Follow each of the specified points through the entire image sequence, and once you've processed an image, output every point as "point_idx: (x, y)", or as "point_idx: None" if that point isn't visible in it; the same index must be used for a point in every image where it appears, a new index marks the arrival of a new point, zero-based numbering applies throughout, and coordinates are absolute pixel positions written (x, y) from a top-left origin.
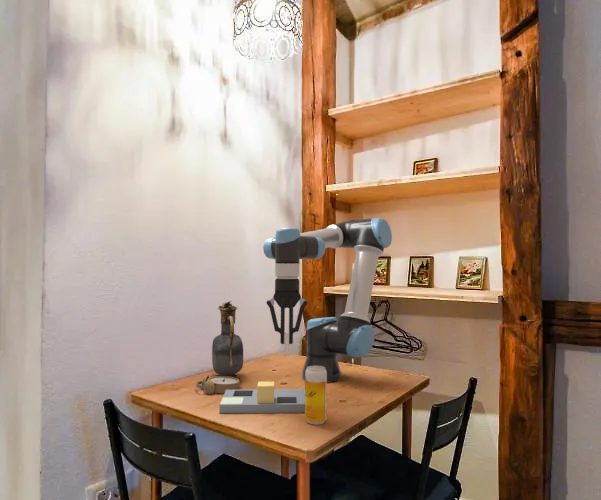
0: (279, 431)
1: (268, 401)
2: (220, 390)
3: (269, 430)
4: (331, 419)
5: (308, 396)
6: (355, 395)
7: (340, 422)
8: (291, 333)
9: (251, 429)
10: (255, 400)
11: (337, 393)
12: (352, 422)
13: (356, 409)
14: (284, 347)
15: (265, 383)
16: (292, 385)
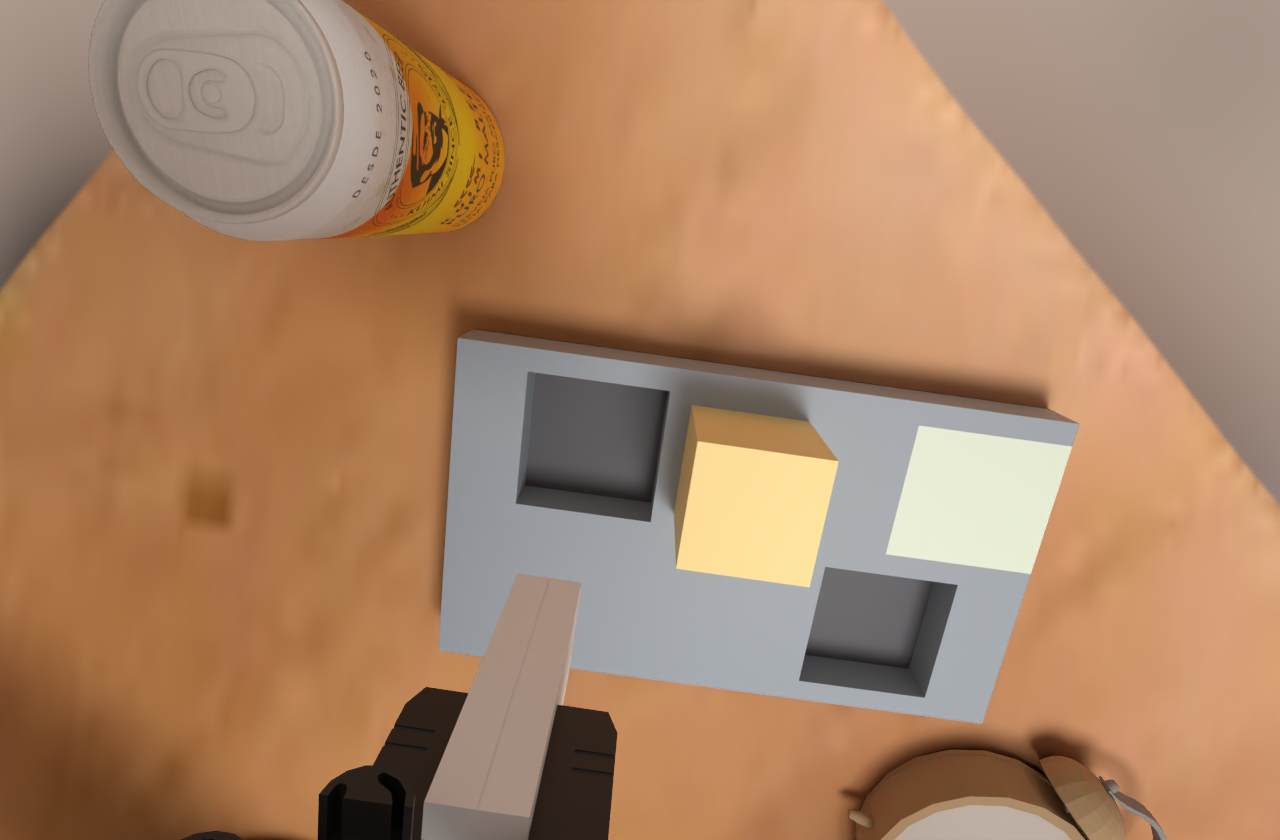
0: (704, 8)
1: (730, 413)
2: (998, 766)
3: (768, 39)
4: None
5: (435, 72)
6: (112, 588)
7: None
8: (366, 778)
9: (884, 78)
10: None
11: (227, 643)
12: None
13: (135, 331)
14: (563, 645)
15: (758, 526)
16: None
